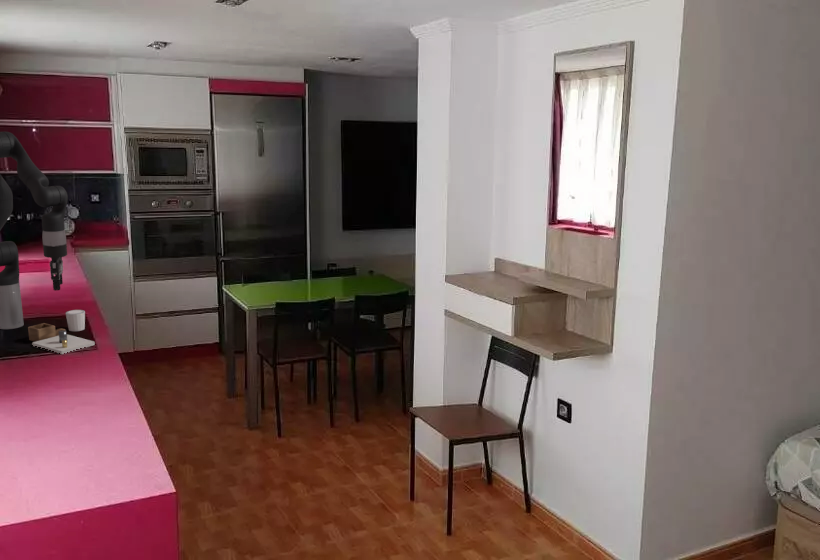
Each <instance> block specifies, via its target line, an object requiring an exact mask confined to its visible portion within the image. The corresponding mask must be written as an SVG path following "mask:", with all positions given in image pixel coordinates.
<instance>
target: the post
mask: <svg viewBox="0 0 820 560" xmlns="http://www.w3.org/2000/svg"><path fill="white" fill-rule="evenodd" d="M62 340H67V330H66V329H65V330H62V331H59V342H60V343H62Z"/></svg>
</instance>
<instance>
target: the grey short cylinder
mask: <svg viewBox="0 0 820 560" xmlns="http://www.w3.org/2000/svg"><path fill="white" fill-rule="evenodd" d="M65 317H66V323H67V328H68V331H69V332H80V331H84V330H85V329H86V328H85V327H86V324H85V322H86V311H85V310H83V309H72V310H68V311H66V312H65Z"/></svg>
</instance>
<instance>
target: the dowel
mask: <svg viewBox="0 0 820 560" xmlns="http://www.w3.org/2000/svg"><path fill="white" fill-rule="evenodd" d="M62 348H67V340H62Z"/></svg>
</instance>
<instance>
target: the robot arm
mask: <svg viewBox="0 0 820 560" xmlns="http://www.w3.org/2000/svg"><path fill="white" fill-rule="evenodd" d="M1 158H2V159H3V158H5V159H6V158H12V159H13V160H14V161H15V162H16V163H17V164H16V173H17V177H18V178H19V179H20V181H21V182H22V183H23V184H24V185H25V186H26V187H27V188H28V190H29V191H30V193H31V196H32V198H33V200H34V202H35V204H36V205H38V206H39V207H41V208H51V209H50V211H49V212H47V213H44V214H42V216H41V226H42V247H43V248H42V249H43V250H42V251H43V257H44V258H51V260H49V261H50V262H49V267H50V268H49V269H50V271H49V272H50V279H51V281H52V288H53V289H52V290H53V291H54V292H55V291H56V292H57V291H60V290H61V285H63V283H64V282H63V273H64V272H63V271H64V262H63V261H64V260H63V258H64V257H67V255H68V248H67V247H68V246H67V234H66V230H65V214H66V209H67V205H68V200H69V199H68V191H67V190H66V189H65V188H64V187H63V186H62V185H52V186H49V184H50V181H49V178H48V177H47V176H46V175H45V174H44V173H43V171H41V170H40V169H39V167H37V165H36V164H35V163H34V162H33V161H32V159H31V158H30V156H29V154H28V153H27V151H26V150H25V148H24V147H23V145H22V143H21V142H20V141H19V139H18V137H17V136H16V135H14V133H12V132H9V131H0V159H1ZM13 197H14V196H13V190H12V189H11V187H10V186H9V184H8V183H7V181H6V180H5V179H4V178H3V176H2V174H1V173H0V232H1V230H2V228H3V227H4V225H6V223H7V222H8V220H9V218H10V217H11V215H12V213H13V210H14V200H13V199H14V198H13ZM0 267H4V268H3V270H1V271H0V330H13V329H18V328H22V327H23V326H24V315H23V314H24V313H23V305H22V304H23V303H22V295H21V294H22V293H21V285H20V258H19V250H18V246H17V245H16V243H15V241H12V240H7V241H0Z"/></svg>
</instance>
